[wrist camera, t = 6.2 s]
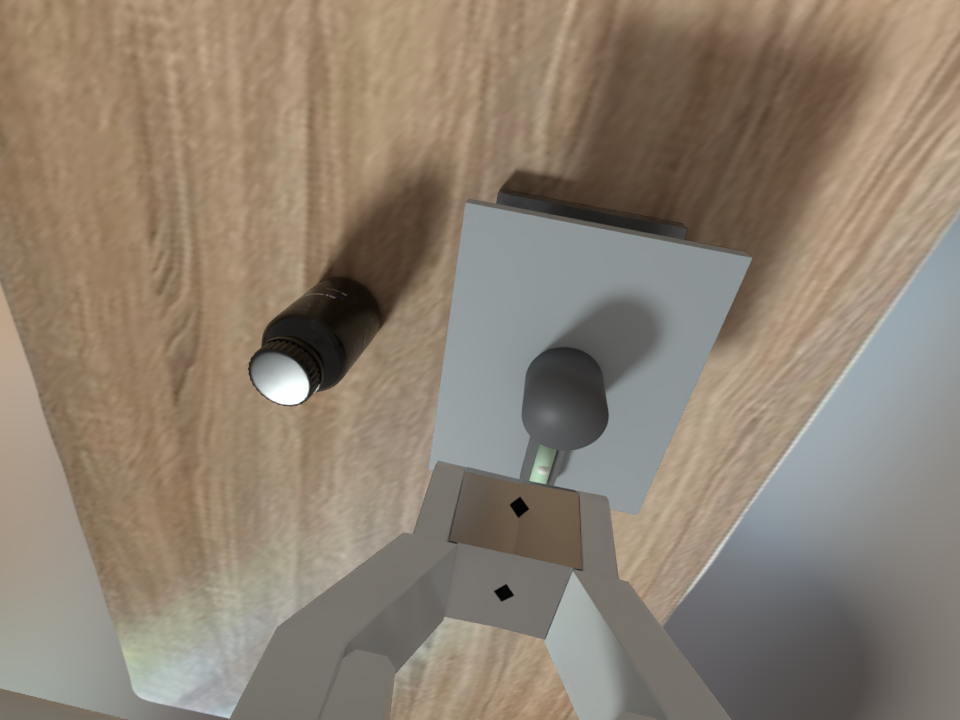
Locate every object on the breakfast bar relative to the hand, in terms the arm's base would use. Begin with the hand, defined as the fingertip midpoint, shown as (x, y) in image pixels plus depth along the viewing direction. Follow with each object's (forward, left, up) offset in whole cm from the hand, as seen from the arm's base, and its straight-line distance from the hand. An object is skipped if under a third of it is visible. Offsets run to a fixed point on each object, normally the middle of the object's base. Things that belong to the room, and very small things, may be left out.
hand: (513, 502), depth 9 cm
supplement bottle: (+14, -15, -33) cm, 39 cm away
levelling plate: (+10, +4, -22) cm, 25 cm away
